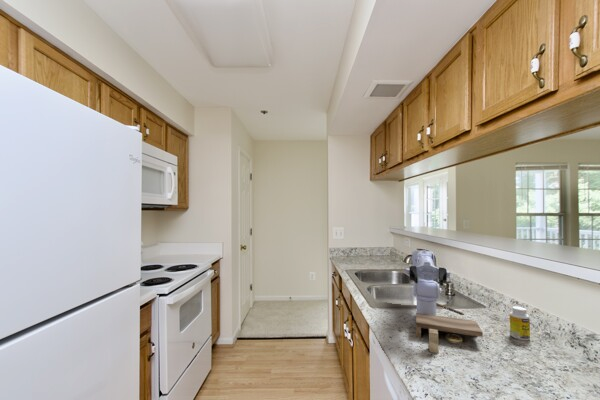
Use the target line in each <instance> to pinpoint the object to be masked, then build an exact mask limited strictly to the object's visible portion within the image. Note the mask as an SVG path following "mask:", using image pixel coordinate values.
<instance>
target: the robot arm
mask: <svg viewBox="0 0 600 400" xmlns="http://www.w3.org/2000/svg"><path fill="white" fill-rule="evenodd" d="M411 253H412V255H411V257H412V258H411V259H412V261H411V262H412V265H410V266H409V267H406V268H405V270H406V271H405V272H406V273H405V274H406V276H409V280H410V281H413V282H412V294H413V296H414V297H415V298H416V313H420V314H428V315H435V316H437V305H436V303H437V301H438V300H439V299H440V298H441V288H440V286H443V285H444V284H447V280H448V279H450V278H451V273H450V270H447V269H446V268H445V267H437V266H436V265H435V255H434V252H433V251H430V250H429V251H428V250H426V249H422V250H413V251H412V252H411ZM437 279H438V281H439V282H437V281H435V280H437Z"/></svg>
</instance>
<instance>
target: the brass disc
mask: <svg viewBox="0 0 600 400" xmlns="http://www.w3.org/2000/svg"><path fill="white" fill-rule="evenodd" d="M445 339H446V340H447V341H448V342H450V343H453V344H455V343H456V344H462V342H463V337H462V336H461V335H459V334H456V333H446V334H445Z"/></svg>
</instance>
